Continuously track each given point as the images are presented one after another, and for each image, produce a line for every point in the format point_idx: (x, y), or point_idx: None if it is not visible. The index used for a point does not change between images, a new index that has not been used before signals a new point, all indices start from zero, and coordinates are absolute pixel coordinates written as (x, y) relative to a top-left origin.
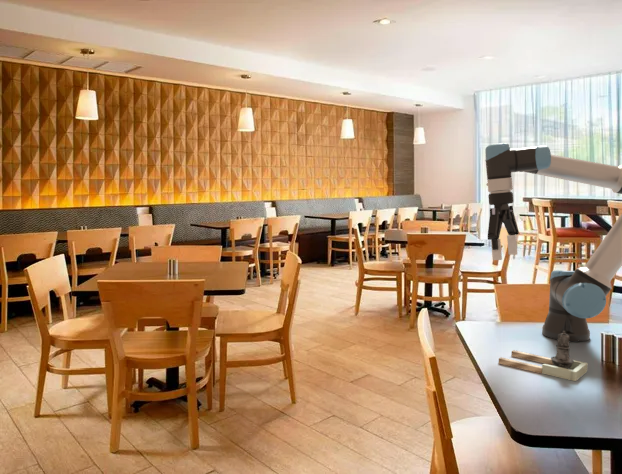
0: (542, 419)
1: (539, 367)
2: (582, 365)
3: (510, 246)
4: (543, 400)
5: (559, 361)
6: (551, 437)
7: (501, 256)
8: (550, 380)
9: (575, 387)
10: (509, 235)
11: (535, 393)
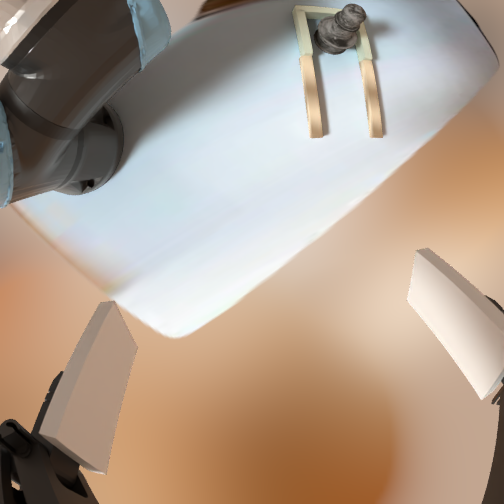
0: (474, 48)
1: (370, 64)
2: (317, 8)
3: (113, 381)
4: (444, 48)
5: (355, 33)
6: (488, 41)
7: (431, 260)
8: (382, 47)
9: (377, 16)
10: (93, 465)
11: (436, 58)
